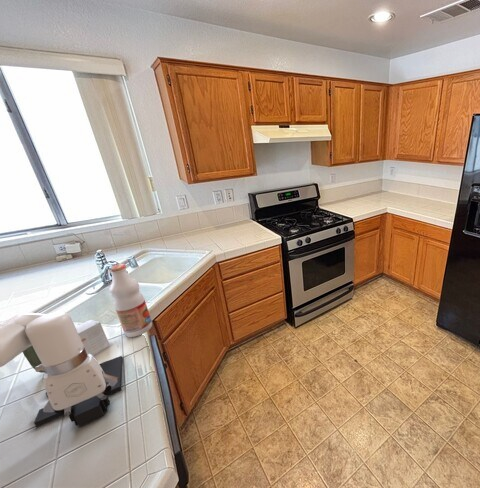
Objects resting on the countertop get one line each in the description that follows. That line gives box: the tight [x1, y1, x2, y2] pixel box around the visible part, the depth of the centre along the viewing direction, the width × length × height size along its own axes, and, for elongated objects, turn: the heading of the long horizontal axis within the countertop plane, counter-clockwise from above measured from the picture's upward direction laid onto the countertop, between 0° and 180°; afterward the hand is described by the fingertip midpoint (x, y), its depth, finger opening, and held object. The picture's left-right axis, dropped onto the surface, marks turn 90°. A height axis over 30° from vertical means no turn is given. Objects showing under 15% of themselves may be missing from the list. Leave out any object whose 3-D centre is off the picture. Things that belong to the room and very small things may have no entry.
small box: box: [75, 319, 111, 357], centre depth 93 cm, size 8×6×10 cm
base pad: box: [33, 355, 124, 428], centre depth 79 cm, size 18×16×2 cm
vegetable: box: [22, 346, 45, 374], centre depth 82 cm, size 4×4×20 cm
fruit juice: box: [108, 263, 153, 338], centre depth 100 cm, size 9×9×28 cm
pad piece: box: [74, 396, 106, 428], centre depth 70 cm, size 5×5×4 cm
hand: (92, 413), depth 70 cm, fingers closed on pad piece, 5 cm apart
